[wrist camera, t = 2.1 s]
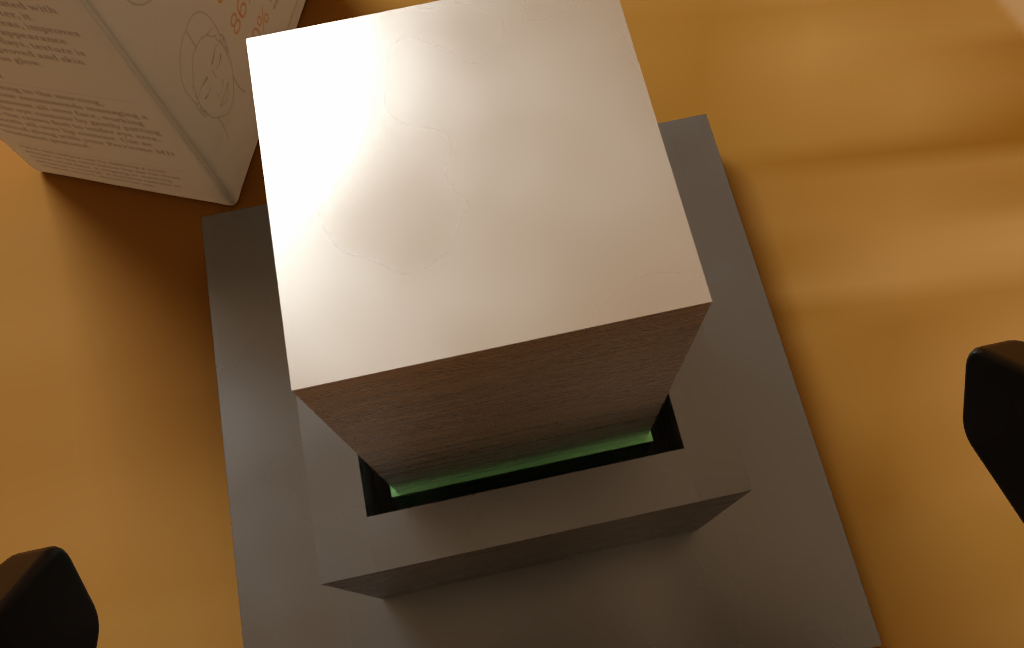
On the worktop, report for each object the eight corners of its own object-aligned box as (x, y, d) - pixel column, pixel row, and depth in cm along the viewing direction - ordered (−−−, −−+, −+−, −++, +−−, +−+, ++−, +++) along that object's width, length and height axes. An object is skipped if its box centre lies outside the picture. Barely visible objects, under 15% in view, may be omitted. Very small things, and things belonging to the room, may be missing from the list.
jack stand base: (861, 645, 18) (1012, 648, 12) (276, 777, 18) (139, 846, 12) (697, 140, 22) (751, -40, 16) (219, 239, 22) (96, 91, 16)
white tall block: (630, 484, 18) (723, 307, 8) (426, 528, 18) (284, 400, 8) (582, 294, 19) (614, -41, 10) (392, 334, 19) (238, 34, 10)
